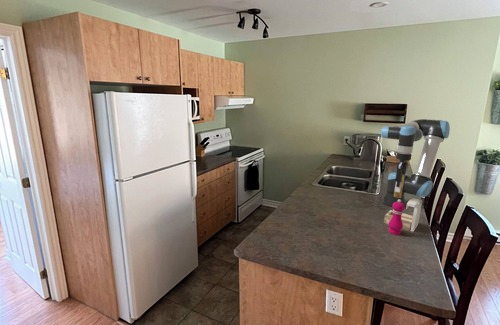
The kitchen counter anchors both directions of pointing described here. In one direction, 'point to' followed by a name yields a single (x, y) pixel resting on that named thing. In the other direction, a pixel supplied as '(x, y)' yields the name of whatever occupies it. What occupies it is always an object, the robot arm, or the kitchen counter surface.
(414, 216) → the awning
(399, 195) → the peg
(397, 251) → the kitchen counter surface
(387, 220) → the socket block
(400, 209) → the pepper mill
